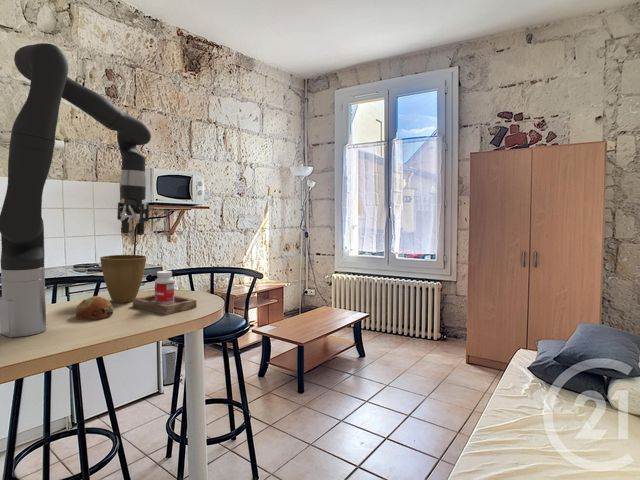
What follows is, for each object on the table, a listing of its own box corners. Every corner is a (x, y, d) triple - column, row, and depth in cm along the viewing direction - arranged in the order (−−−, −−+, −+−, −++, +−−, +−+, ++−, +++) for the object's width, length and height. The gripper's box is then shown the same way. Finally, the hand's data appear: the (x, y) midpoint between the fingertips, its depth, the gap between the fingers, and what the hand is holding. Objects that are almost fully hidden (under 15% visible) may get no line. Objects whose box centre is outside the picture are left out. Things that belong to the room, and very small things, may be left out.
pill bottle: (151, 304, 136) (150, 271, 135) (167, 301, 141) (166, 269, 140) (161, 307, 132) (161, 273, 131) (178, 303, 137) (177, 271, 136)
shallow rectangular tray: (165, 314, 127) (165, 306, 127) (132, 306, 137) (132, 298, 136) (196, 307, 137) (196, 300, 137) (163, 299, 147) (163, 293, 146)
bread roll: (104, 322, 130) (96, 299, 131) (123, 312, 125) (115, 288, 126) (73, 330, 121) (66, 305, 122) (93, 320, 116) (85, 294, 117)
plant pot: (130, 306, 136) (129, 259, 135) (91, 304, 138) (90, 258, 137) (155, 297, 151) (154, 255, 149) (119, 295, 153) (118, 253, 152)
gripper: (156, 185, 131) (155, 235, 132) (131, 186, 139) (130, 232, 140) (135, 183, 125) (134, 235, 126) (110, 184, 133) (109, 232, 134)
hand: (132, 234), depth 133 cm, fingers open, 8 cm apart
